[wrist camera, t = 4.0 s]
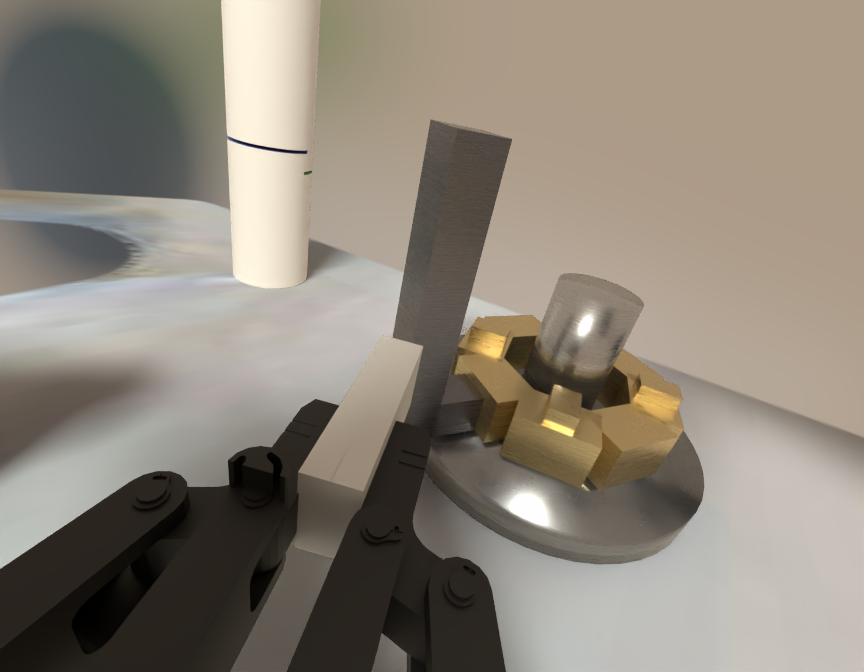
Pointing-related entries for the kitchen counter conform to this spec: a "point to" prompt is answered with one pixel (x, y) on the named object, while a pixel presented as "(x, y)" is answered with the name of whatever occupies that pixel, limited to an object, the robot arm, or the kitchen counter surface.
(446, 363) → the geared hub with post
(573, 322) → the flange
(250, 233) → the cylindrical container
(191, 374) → the kitchen counter surface
